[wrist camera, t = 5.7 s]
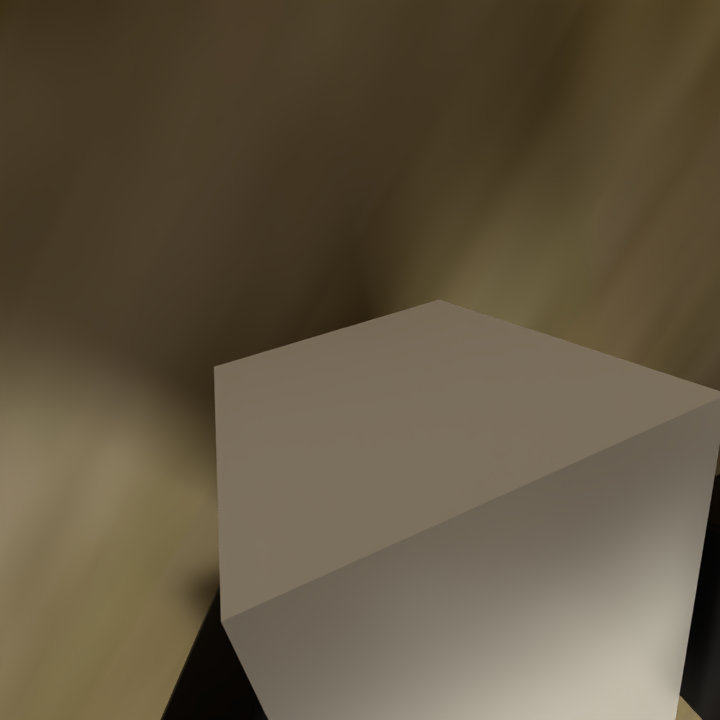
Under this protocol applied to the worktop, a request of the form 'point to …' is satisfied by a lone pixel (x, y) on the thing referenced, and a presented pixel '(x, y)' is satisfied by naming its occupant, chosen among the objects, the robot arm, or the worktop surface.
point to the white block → (460, 523)
